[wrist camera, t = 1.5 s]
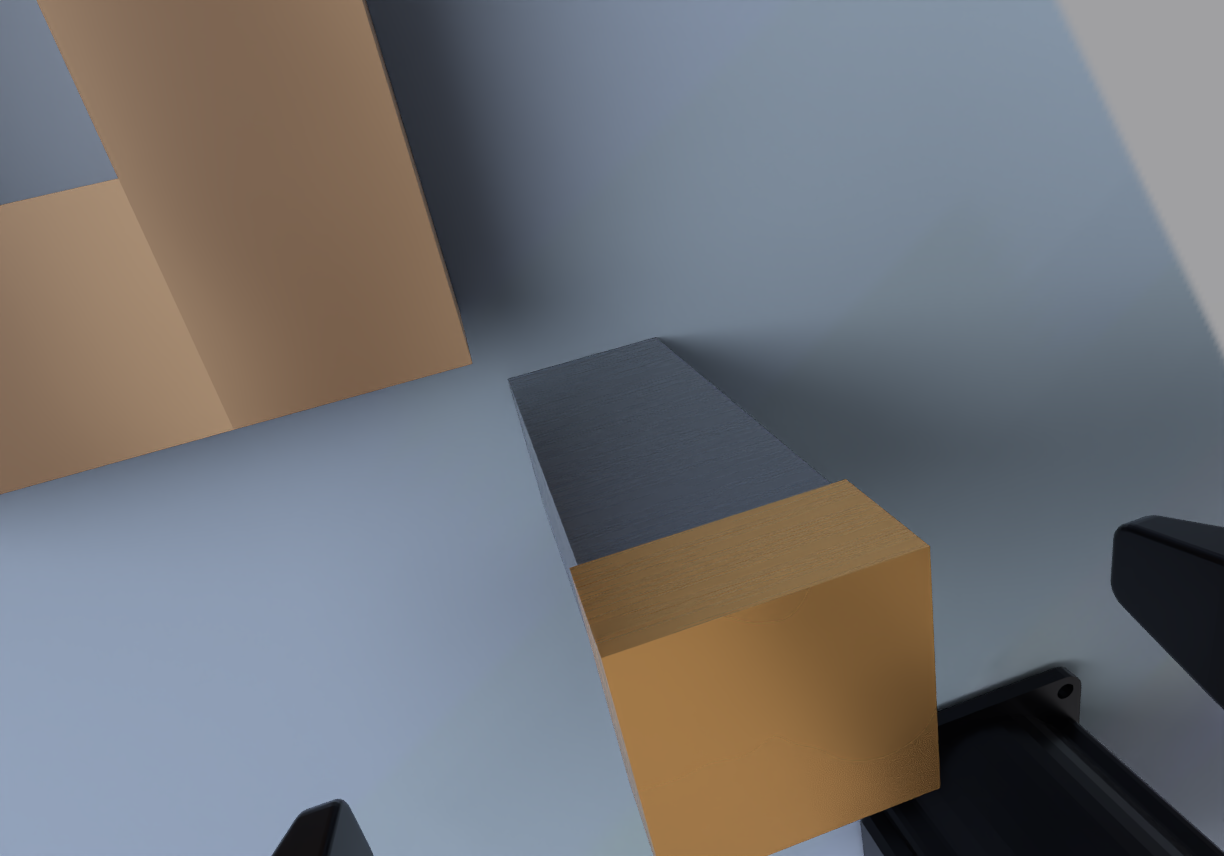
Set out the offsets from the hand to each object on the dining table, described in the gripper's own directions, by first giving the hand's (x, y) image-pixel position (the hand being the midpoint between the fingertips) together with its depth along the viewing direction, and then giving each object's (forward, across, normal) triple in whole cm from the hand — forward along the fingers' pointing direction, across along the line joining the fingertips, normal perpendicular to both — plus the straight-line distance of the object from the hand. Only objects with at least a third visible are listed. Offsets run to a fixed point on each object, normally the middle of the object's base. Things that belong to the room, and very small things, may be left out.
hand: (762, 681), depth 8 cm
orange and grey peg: (+8, 0, 0) cm, 8 cm away
